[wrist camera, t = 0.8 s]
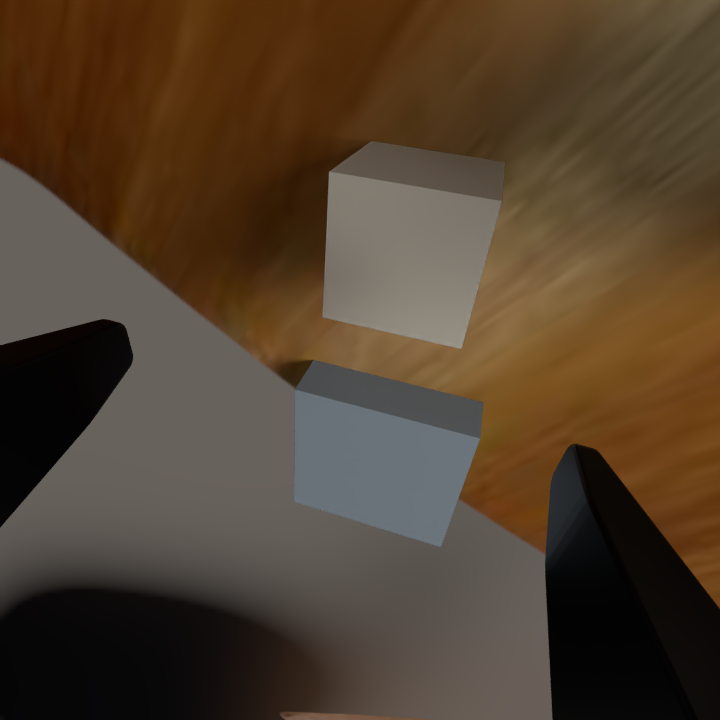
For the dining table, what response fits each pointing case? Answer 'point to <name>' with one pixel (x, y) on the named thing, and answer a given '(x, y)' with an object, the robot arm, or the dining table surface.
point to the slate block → (382, 450)
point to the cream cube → (409, 239)
